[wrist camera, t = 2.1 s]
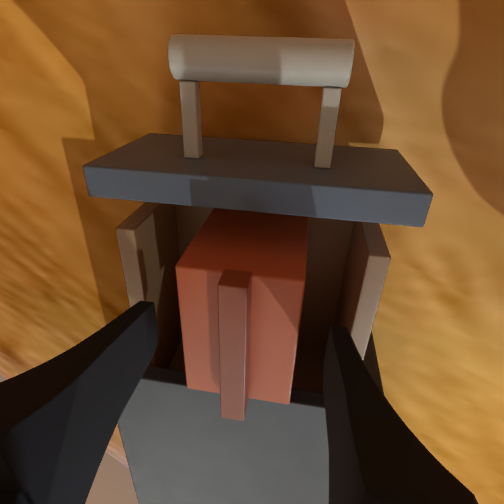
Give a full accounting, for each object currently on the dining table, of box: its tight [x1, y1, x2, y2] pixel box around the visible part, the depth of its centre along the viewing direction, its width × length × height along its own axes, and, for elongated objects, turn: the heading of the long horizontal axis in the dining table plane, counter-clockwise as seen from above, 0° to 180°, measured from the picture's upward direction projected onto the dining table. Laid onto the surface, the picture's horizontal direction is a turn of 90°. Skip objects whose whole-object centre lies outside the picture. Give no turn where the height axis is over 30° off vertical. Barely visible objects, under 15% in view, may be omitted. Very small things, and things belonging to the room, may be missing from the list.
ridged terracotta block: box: [175, 208, 309, 421], centre depth 16 cm, size 7×5×7 cm
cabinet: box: [117, 330, 384, 504], centre depth 22 cm, size 14×13×8 cm
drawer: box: [83, 34, 433, 393], centre depth 16 cm, size 17×12×6 cm
